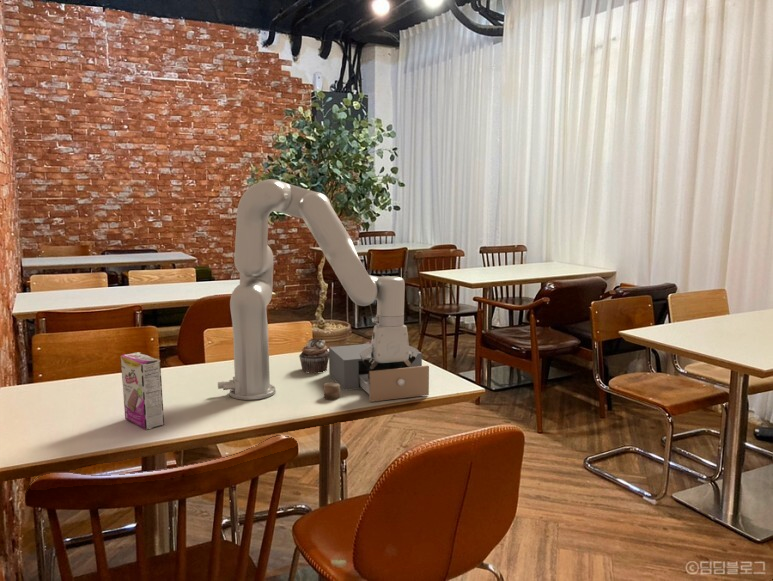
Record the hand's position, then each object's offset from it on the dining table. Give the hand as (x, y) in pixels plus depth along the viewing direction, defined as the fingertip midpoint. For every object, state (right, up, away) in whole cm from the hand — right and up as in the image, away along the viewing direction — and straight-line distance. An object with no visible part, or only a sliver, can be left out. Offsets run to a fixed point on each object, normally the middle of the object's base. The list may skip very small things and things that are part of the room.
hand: (388, 380), depth 171 cm
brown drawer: (0, -3, +1) cm, 3 cm away
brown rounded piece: (-16, -4, -4) cm, 17 cm away
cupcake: (-24, 0, +23) cm, 33 cm away
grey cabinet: (-4, -1, +14) cm, 14 cm away
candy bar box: (-60, -7, -23) cm, 65 cm away
